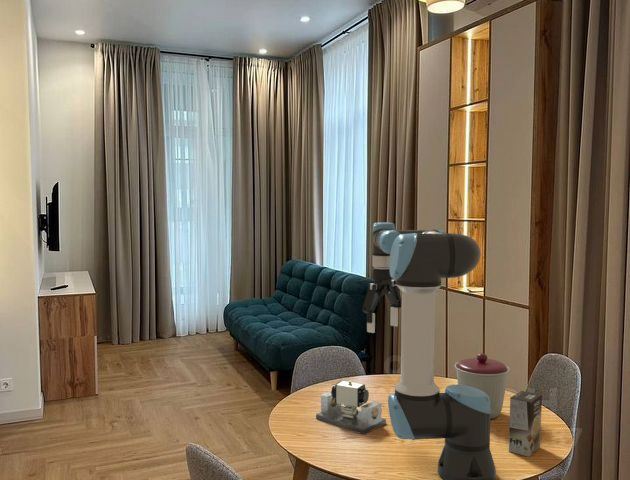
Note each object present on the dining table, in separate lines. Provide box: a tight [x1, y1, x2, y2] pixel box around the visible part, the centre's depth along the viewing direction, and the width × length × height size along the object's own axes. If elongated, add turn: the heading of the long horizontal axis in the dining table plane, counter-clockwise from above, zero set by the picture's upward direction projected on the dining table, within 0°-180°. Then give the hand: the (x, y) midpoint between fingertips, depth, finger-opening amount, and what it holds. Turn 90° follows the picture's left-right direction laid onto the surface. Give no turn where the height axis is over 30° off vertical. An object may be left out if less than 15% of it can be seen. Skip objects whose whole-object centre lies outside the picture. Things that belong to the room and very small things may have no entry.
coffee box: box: [508, 390, 543, 457], centre depth 176 cm, size 9×6×16 cm
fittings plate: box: [315, 390, 387, 435], centre depth 198 cm, size 20×12×8 cm, turn 48°
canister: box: [454, 352, 511, 420], centre depth 204 cm, size 18×18×21 cm
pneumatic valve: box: [330, 380, 370, 419], centre depth 198 cm, size 6×12×12 cm, turn 61°
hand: (382, 329), depth 206 cm, fingers open, 13 cm apart
